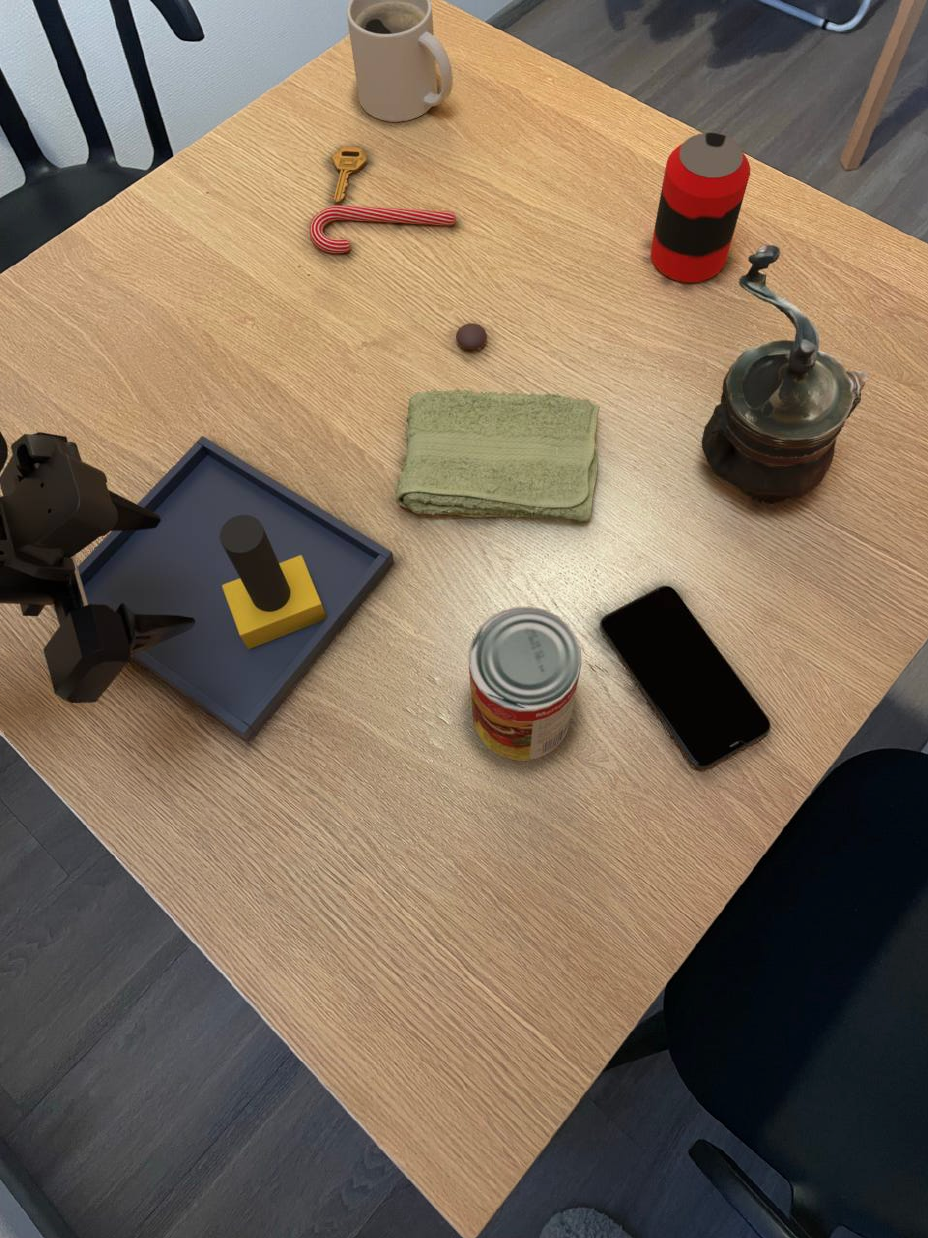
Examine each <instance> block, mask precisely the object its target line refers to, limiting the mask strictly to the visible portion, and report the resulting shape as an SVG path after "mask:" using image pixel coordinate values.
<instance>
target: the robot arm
mask: <svg viewBox="0 0 928 1238" xmlns="http://www.w3.org/2000/svg"><path fill="white" fill-rule="evenodd" d="M10 449H11V453H12V455H11V456H10V458H9V447H8V444H7V441H6V439H5V437H4V436H3V434H2V432H1V431H0V474H1V475H0V489H1V493H2V496H0V604H5V605H6V604H9V605H19V607H20V611H21V615H22V616H23V617H39V615H40V614H41V613H42V611H43V609H45V606H54V610H55V614H56V617H57V621H58V625H59V627H58V628H57V629H56V630H55V632H54V633H53V635H52V636H51V638H50V639H49V640H48V641H47V643H46V644H45V646H44V647H43V648H42V650H43V653H44V658H45V662H46V665H47V669H48V674H49V678H50V681H51V685H52V688H53V693H54V694H55V696H57V697H58V698H59V699H61V700H62V701H63V702H67V703H69V704H92V703H93V704H96V703H98V701H99V699H100V698H101V697H102V696H103V694H104V693H105V692H106V691H107V689H108V688H109V687H110V686H111V684H112V683H113V682H115V680H116V679H117V677H118V676H119V675H120V673H121V672H122V671H123V670H124V669H125V667H126V666H128V664H129V662H130V659H131V658H130V657H131V656H133V655H135V654H137V653H139V652H141V651H143V650H145V649H148V648H150V647H152V646H154V645H157V644H159V643H161V642H164V641H166V640H168V639H170V638H173V637H175V636H177V635H180V634H182V633H184V632H187V631H189V630H190V629H191V628H192V627H193V626H194V625H195V623H196V622H195V619H194V618H192V617H186V616H180V615H155V614H135V613H133V612H132V611H131V610H130V609H129V608H128V607H127V606H126V605H125V604H124V603H121V604H120V605H119V607H118V608H117V609H116V611H114V610H113V609H111V608H110V607H108V606H107V605H101V604H89V605H88V602H87V598H86V595H85V592H84V588H83V585H82V581H81V578H80V574H79V571H78V564H77V561H76V558H75V556H76V555H77V554H79V553H81V551H83V550H84V549H85V548H87V547H88V546H89V545H91V544H92V543H93V542H95V541H96V540H97V539H99V538H100V537H104V536H105V537H106V536H107V535H108V534H109V533H110V532H111V531H134V530H144V529H153V528H156V527H157V526H158V524H159V523H160V522H161V519H160V516H159V515H157V514H155V513H153V512H151V511H149V510H147V509H145V508H143V507H141V506H139V505H137V504H138V503H135V502H133V501H131V500H129V499H128V498H125V497H123V496H121V495H119V494H118V493H115V492H114V491H112V490H111V489H109V487H108V485H107V484H108V479H107V475H106V473H105V471H103V470H101V469H99V468H97V467H94V466H93V465H91V464H88V463H86V462H84V461H83V459H82V456H81V454H80V451H79V447H78V445H77V443H76V442H74V441H68V438H67V436H66V435H65V436H64V435H59V434H54V433H47V432H42V431H37V432H35V433H32V434H29V433H24V434H23V435H22V436H20V437H19V438H17V440H15V441H14V442H12V444H11V445H10ZM8 458H9V460H8ZM7 461H8V462H7ZM6 463H7V464H6ZM5 464H6V466H5ZM2 470H3V471H2Z"/></svg>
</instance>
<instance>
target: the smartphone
mask: <svg viewBox="0 0 928 1238" xmlns="http://www.w3.org/2000/svg"><path fill="white" fill-rule="evenodd" d="M599 629H600V631H601V633H602V634H603V636H604V638H605V639H606V641H607V642H608V643H609V645H610V647H611V648H612V649H613V651H614V653H615V654H616V655H617V657H618V658H619V660H620V662H621V663H622V664H623V666H624V667H625V669H626V670H627V672H628V673H629V675H630V676H631V678H632V679H633V681H634V683H635V684H636V685H637V687H638V688H639V689H640V691H641V693H642V694H643V695H644V697H645V698H646V700H647V702H648V703H649V705H650V707H652V709H653V710H654V712H655V714H656V715H657V716H658V719H660V721H661V723H662V724H663V726H664V727H665V729H666V731H667V732H668V733H669V734H670V736H671V737H672V739H673V741H674V742H675V744H677V746H678V748H679V749H680V750H681V752H682V754H683V755H684V756H685V759H686V760H687V761H688V762H689V763H690V765H691V766H692V767H693V768H695V769H697V770H701V771H702V770H707V769H709V768H712V767H713V766H715V765H717V764H718V763H720V762H722V761H725V760H726V759H727V758H729V757H730V756H732V755H734V754H736V753H738V752H740V751H742V750H743V749H745V748H746V747H748V746H750V745H752V744H754V743H756V742H757V741H759V740H760V739H763V738H765V736H767V735H768V734H769V733H770V731H771V728H772V724H771V722H770V719H769V717H768V716H767V714H766V713H765V712H764V711H763V709H762V708H761V706H760V705H759V703H758V702H757V701H756V699H755V698H754V696H753V695H752V693H751V692H750V691H749V689H748V688H747V686H745V684H744V682H743V681H742V680H741V678H740V676H739V675H738V674H737V673H736V672H735V670H734V669H733V668H732V666H731V664H730V663H729V662H728V660H727V659H726V658H725V656H724V655H723V654H722V652H721V651H720V649H719V648H718V647H717V645H716V644H715V643H714V641H713V640H712V639H711V637H710V636H709V634H708V633H707V632H706V630H705V629H704V628H703V626H702V625H701V623H700V622H699V621H698V619H697V618H696V616H695V615H694V613H693V612H692V611H691V610H690V608H689V607H688V605H687V604H686V602H684V600H683V599H682V597H681V596H680V595H679V592H677V591H676V589H675V588H673V587H671V586H669V585H662V586H659V587H656V588H655V589H653V590H651V591H649V592H647V593H645V594H643V595H641V596H639V597H637V598H636V599H634V600H632V601H630V602H628V603H625V604H624V605H622V606H620V607H618V608H617V609H615V610H613V611H611V612H609V613H607V614H605V615H604V616H602V618H601V619H600V621H599Z"/></svg>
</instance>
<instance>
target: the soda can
mask: <svg viewBox="0 0 928 1238" xmlns="http://www.w3.org/2000/svg"><path fill="white" fill-rule="evenodd" d="M750 176H751V165H750V161H749V160H748V157H747V156H746V155H745V154H744V152H743V149H742V147H741V146H740V145H739V144H738V142H736V140H734V139H732V138H731V137H729V136H727V135H724V134H721V133H716V132H703V133H698V134H695V135H692V136H690V137H688V138H687V139H686V140H685V141H684V142H683V143H681V144H680V145H678V146H676V148H674V149H673V150H672V151H671V153H670V154H669V155H668V158H667V160H666V164H665V169H664V175H663V181H662V186H661V191H660V197H659V201H658V208H657V212H656V218H655V224H654V225H655V226H654V230H653V235H652V241H651V245H650V256H651V260H652V262H653V264H654V266H655V267H656V268H657V269H658V270H659V271H660V272H661V273H662V274H663V275H664V276H666V277H668V278H669V279H671V280H674V281H678V282H683V283H697V282H698V283H699V282H702V281H706V280H708V279H711V278H713V277H714V276H716V275H717V274H718V273H719V272H720V271H721V270H722V269H723V268H724V266H725V264H726V262H727V258H728V256H729V252H730V248H731V244H732V240H733V237H734V233H735V230H736V227H737V224H738V223H737V222H738V219H739V216H740V212H741V209H742V208H741V207H742V205H743V201H744V197H745V194H746V191H747V186H748V184H749V180H750Z"/></svg>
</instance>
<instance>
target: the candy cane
mask: <svg viewBox="0 0 928 1238" xmlns="http://www.w3.org/2000/svg"><path fill="white" fill-rule="evenodd" d="M334 221H335V222H336V221H359V222H360V221H361V222H375V223H377V222H378V223H394V224H412V225H429V226H430V225H431V226H450V227H451V226H453V225H455V223H456V221H457V216H456V214H455V212H453V211H448V210H433V209H413V208H396V207H394V208H393V207H377V206H376V207H375V206H359V205H342V204H341V205H340V204H339V205H332V206H329V207H326V208H324V209H322V210H320V211H319V212H317V213H316V215H314V216H313V218H312V219H311V221H310V223H309V229H308V232H309V233H308V234H309V238H310V239H311V241H312V243H313V244H314V246H315V247H317V248H318V249H320V250H322V251H323V252H327V253H330V254H344V253H347V252H349V251H350V250H351V247H352V246H351V242H350V241H349V240H348V239H347V238H345V237H341V238H331V237H329V236H326V235H325V234H324V232H323V231H324V228H325V227H326V226H327V225H328V224H329V223H331V222H334Z"/></svg>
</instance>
